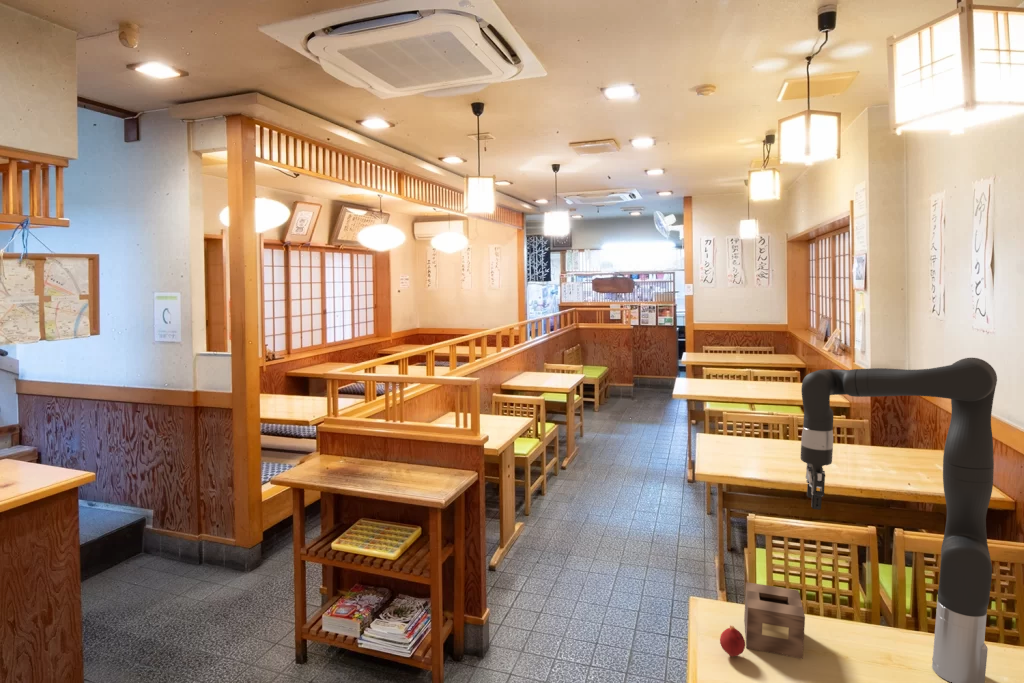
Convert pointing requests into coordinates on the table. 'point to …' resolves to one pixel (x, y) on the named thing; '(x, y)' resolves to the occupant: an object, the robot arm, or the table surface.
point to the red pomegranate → (732, 641)
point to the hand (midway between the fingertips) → (813, 503)
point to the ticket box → (774, 620)
